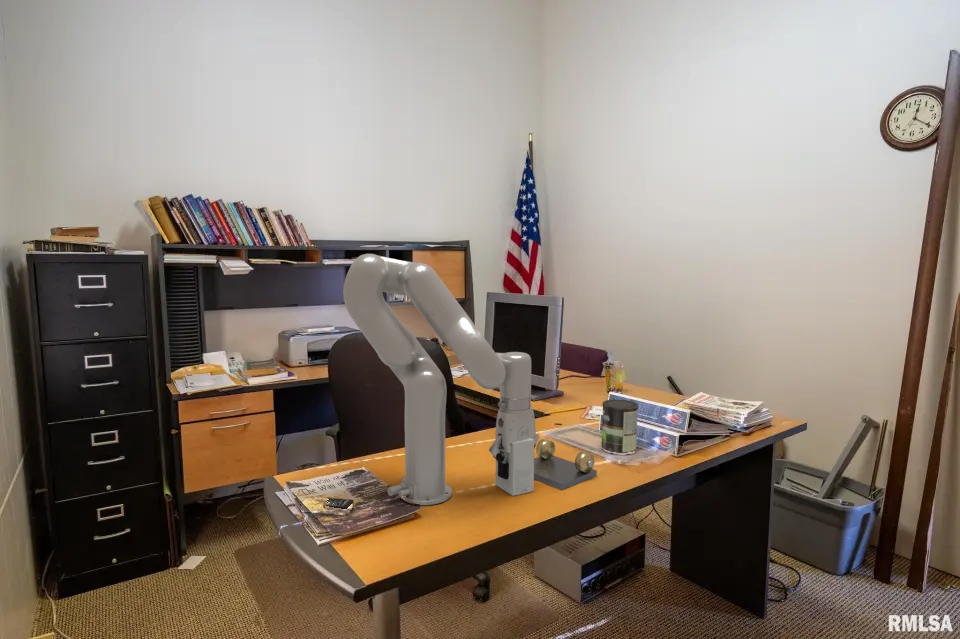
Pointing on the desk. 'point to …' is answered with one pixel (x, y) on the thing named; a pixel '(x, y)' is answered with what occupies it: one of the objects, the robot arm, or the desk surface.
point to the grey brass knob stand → (561, 467)
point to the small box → (519, 468)
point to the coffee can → (619, 426)
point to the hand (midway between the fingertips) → (514, 473)
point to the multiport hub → (339, 503)
